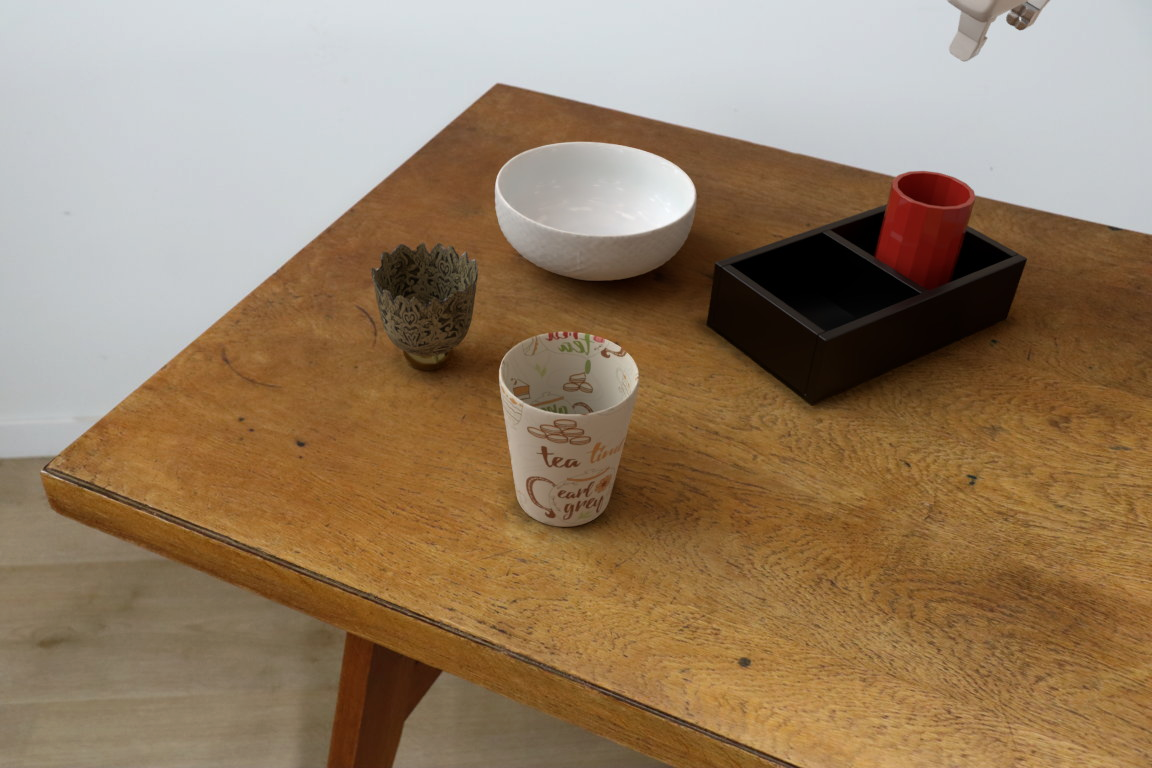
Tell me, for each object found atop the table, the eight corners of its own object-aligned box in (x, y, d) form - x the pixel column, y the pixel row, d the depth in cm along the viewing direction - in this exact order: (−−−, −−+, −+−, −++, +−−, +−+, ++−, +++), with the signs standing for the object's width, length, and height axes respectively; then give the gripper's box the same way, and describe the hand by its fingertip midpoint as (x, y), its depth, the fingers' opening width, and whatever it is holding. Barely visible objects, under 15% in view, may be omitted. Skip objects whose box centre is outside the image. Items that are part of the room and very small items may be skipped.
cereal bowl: (684, 321, 88) (694, 244, 84) (478, 301, 89) (477, 223, 85) (691, 218, 102) (700, 147, 97) (512, 201, 103) (512, 130, 98)
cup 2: (902, 271, 95) (930, 164, 89) (958, 305, 91) (992, 196, 85) (850, 290, 92) (876, 182, 86) (906, 327, 88) (937, 216, 82)
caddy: (897, 253, 98) (912, 194, 95) (1007, 319, 91) (1028, 258, 87) (706, 324, 88) (714, 261, 84) (811, 405, 80) (826, 340, 77)
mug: (481, 526, 69) (480, 400, 63) (535, 405, 79) (538, 286, 73) (612, 553, 68) (624, 427, 62) (650, 427, 77) (663, 307, 71)
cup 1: (457, 399, 79) (455, 305, 74) (362, 378, 80) (353, 285, 76) (492, 341, 85) (492, 251, 80) (402, 323, 86) (396, 233, 81)
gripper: (1073, -94, 66) (960, 100, 76) (1188, -143, 78) (1079, 29, 88) (985, -144, 68) (887, 51, 78) (1111, -184, 81) (1013, -11, 91)
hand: (990, 39), depth 83 cm, fingers open, 8 cm apart
